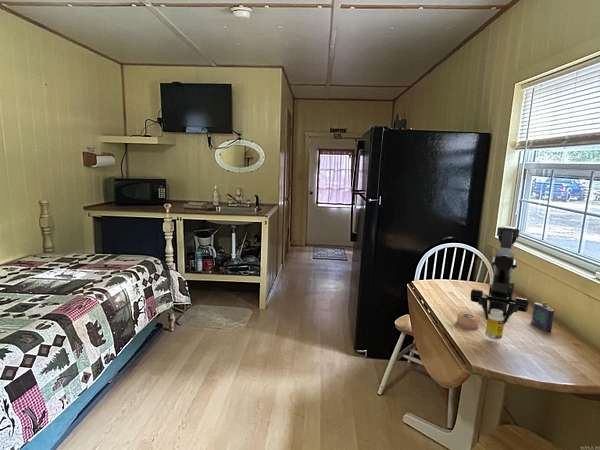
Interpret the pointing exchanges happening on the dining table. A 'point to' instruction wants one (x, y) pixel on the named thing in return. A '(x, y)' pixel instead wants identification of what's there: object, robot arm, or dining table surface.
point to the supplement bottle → (495, 324)
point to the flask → (542, 316)
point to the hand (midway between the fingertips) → (495, 321)
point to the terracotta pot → (467, 320)
